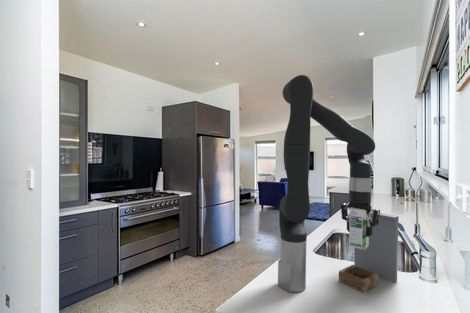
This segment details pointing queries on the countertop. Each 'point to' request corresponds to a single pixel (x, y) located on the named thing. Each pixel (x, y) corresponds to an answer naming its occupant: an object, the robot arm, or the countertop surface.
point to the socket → (358, 278)
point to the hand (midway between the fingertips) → (359, 233)
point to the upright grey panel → (381, 248)
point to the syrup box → (358, 229)
